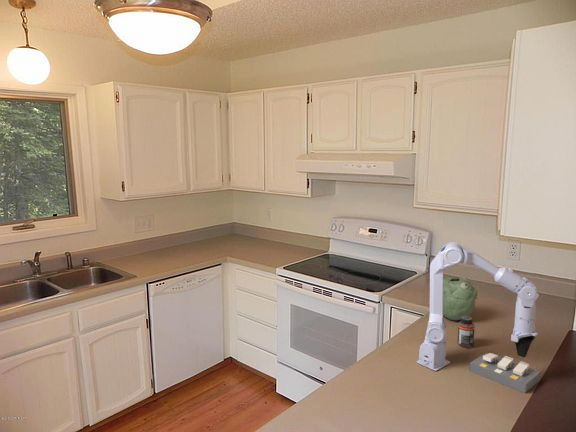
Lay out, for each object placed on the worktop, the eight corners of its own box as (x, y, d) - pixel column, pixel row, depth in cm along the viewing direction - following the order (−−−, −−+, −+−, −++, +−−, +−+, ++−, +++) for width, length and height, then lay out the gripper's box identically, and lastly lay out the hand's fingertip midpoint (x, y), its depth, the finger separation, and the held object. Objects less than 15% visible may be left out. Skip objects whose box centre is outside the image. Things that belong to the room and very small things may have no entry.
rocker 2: (505, 370, 138) (505, 366, 138) (497, 367, 141) (497, 363, 140) (513, 361, 142) (513, 358, 142) (505, 358, 144) (505, 355, 144)
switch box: (525, 393, 131) (526, 378, 130) (469, 370, 145) (470, 357, 144) (540, 380, 138) (541, 366, 138) (485, 360, 152) (486, 347, 151)
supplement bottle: (459, 340, 168) (461, 313, 167) (475, 344, 165) (477, 317, 163) (454, 345, 164) (456, 318, 162) (470, 349, 160) (472, 321, 159)
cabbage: (438, 309, 203) (440, 269, 200) (479, 318, 191) (482, 276, 188) (426, 319, 190) (429, 277, 187) (470, 329, 179) (473, 284, 176)
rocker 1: (490, 362, 142) (490, 358, 142) (482, 359, 144) (483, 355, 144) (498, 358, 146) (498, 355, 146) (490, 356, 148) (490, 352, 148)
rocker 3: (521, 376, 135) (521, 372, 134) (513, 372, 137) (513, 369, 136) (529, 367, 138) (529, 364, 138) (520, 364, 140) (520, 360, 140)
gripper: (529, 326, 130) (525, 367, 132) (546, 315, 139) (543, 353, 141) (505, 319, 135) (502, 359, 137) (523, 309, 144) (521, 346, 146)
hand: (521, 356), depth 139 cm, fingers closed
